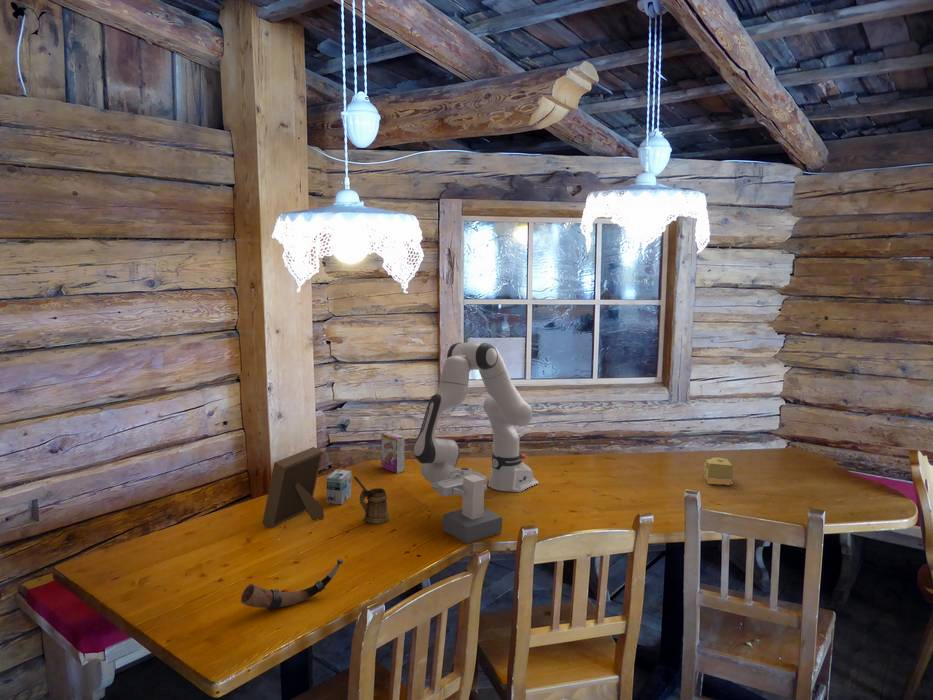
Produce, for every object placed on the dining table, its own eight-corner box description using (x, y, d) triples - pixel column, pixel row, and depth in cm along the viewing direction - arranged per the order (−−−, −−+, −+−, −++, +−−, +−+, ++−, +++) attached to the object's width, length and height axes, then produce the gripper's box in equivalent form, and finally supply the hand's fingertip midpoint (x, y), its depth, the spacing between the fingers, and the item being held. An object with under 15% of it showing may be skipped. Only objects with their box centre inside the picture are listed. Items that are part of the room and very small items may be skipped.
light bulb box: (342, 505, 272) (342, 479, 271) (325, 503, 274) (325, 477, 272) (351, 495, 283) (351, 470, 281) (336, 494, 284) (336, 468, 282)
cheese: (702, 477, 318) (704, 456, 317) (726, 479, 317) (728, 457, 315) (706, 485, 308) (708, 463, 306) (732, 487, 307) (734, 465, 305)
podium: (477, 519, 262) (477, 504, 261) (501, 532, 251) (502, 517, 250) (442, 529, 252) (443, 514, 251) (466, 543, 241) (467, 527, 241)
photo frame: (262, 526, 251) (261, 459, 247) (301, 506, 270) (301, 444, 266) (294, 535, 244) (295, 467, 240) (332, 514, 264) (333, 451, 260)
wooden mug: (350, 518, 260) (350, 472, 257) (384, 513, 266) (385, 468, 263) (356, 527, 252) (356, 479, 249) (392, 522, 258) (392, 475, 255)
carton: (472, 511, 255) (474, 474, 253) (483, 516, 250) (484, 479, 248) (462, 514, 252) (463, 477, 249) (472, 519, 247) (473, 482, 245)
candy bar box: (380, 468, 318) (380, 433, 315) (388, 465, 321) (389, 431, 319) (396, 474, 310) (396, 438, 307) (404, 471, 314) (405, 436, 311)
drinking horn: (238, 613, 193) (238, 579, 192) (338, 585, 210) (338, 554, 208) (245, 622, 189) (244, 588, 187) (346, 593, 205) (346, 561, 204)
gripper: (429, 477, 253) (451, 488, 242) (473, 467, 265) (496, 477, 254) (428, 493, 254) (451, 505, 243) (472, 482, 266) (496, 493, 255)
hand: (474, 491), depth 249 cm, fingers open, 8 cm apart
